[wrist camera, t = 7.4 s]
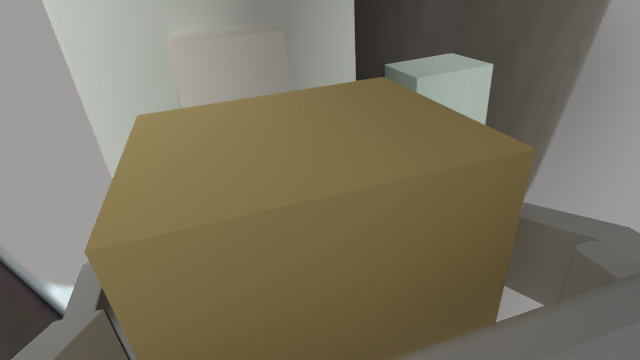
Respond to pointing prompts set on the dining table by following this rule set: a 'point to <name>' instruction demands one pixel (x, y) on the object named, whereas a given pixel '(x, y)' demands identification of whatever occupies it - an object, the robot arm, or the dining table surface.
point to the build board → (144, 63)
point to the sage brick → (447, 82)
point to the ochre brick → (308, 226)
